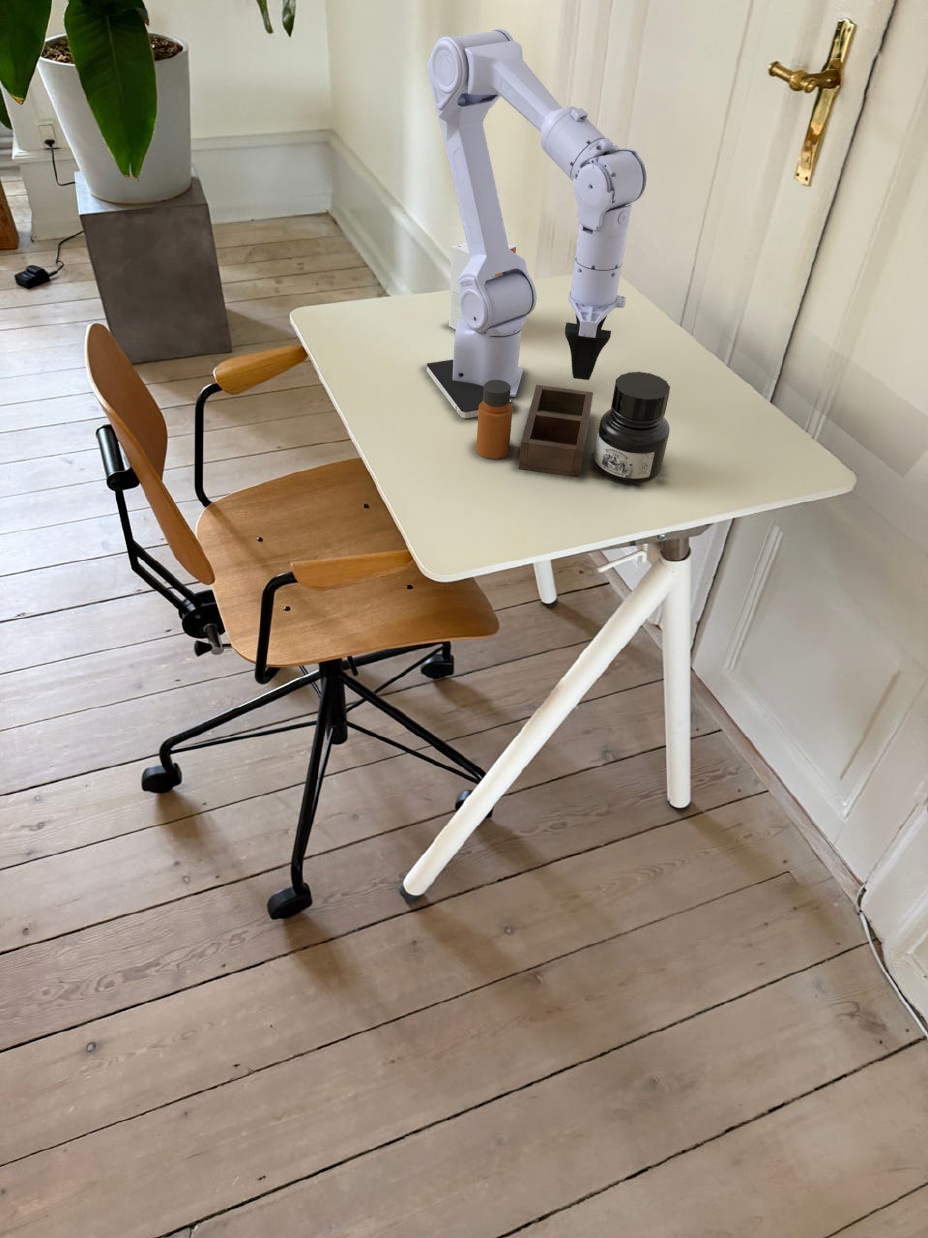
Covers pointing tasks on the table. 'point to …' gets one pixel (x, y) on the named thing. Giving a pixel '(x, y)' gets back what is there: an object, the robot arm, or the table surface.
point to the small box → (457, 266)
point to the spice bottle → (494, 420)
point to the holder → (556, 431)
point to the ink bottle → (634, 429)
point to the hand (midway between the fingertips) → (583, 363)
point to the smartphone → (457, 389)
